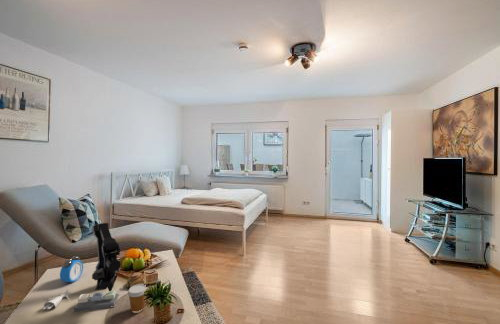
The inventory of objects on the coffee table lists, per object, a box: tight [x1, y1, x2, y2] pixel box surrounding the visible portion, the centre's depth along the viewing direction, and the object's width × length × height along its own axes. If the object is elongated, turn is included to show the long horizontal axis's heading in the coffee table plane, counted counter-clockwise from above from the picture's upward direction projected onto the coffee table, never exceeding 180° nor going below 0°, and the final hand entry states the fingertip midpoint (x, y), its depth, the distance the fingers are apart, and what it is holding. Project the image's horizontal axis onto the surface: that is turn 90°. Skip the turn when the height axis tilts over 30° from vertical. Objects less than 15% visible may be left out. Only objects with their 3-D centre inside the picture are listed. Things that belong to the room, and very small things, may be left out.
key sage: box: [104, 290, 117, 300], centre depth 139 cm, size 4×4×2 cm
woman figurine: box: [42, 289, 71, 310], centre depth 138 cm, size 12×4×18 cm
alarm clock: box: [59, 255, 84, 284], centre depth 160 cm, size 13×6×15 cm, turn 178°
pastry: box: [125, 272, 144, 289], centre depth 158 cm, size 13×15×8 cm
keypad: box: [73, 293, 120, 313], centre depth 138 cm, size 11×19×2 cm, turn 106°
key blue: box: [91, 291, 104, 301], centre depth 137 cm, size 4×4×2 cm
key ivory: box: [77, 292, 91, 303], centre depth 136 cm, size 4×4×2 cm
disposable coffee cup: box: [127, 284, 148, 311], centre depth 133 cm, size 10×10×12 cm
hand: (110, 290), depth 139 cm, fingers closed
